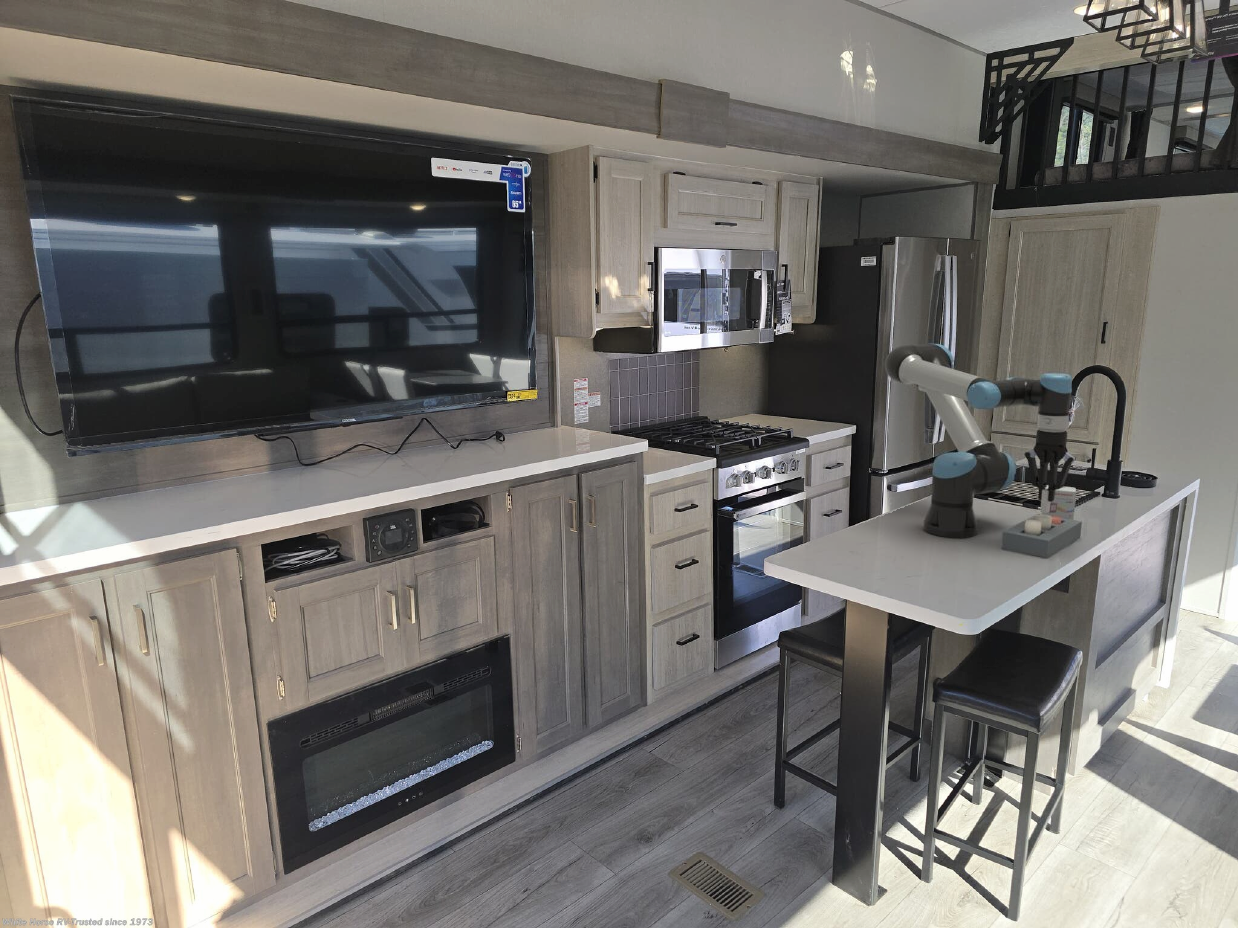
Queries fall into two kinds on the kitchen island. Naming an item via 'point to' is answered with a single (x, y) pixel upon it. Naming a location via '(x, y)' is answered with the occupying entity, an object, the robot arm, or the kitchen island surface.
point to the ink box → (1063, 503)
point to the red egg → (1056, 520)
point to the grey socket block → (1041, 538)
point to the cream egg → (1044, 521)
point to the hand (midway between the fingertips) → (1045, 511)
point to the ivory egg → (1033, 527)
